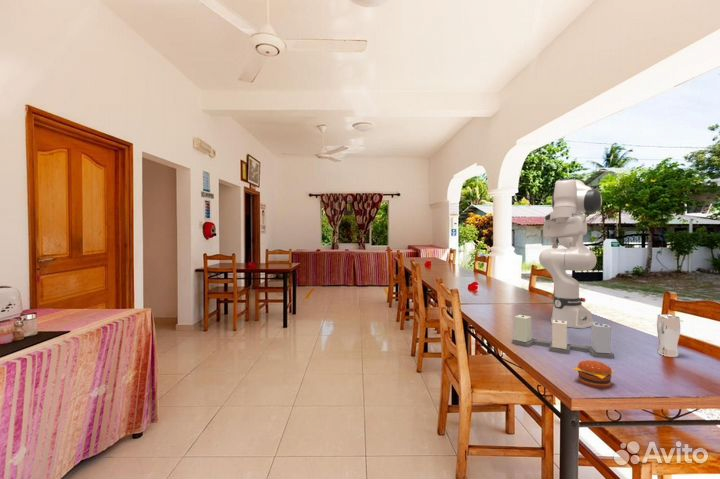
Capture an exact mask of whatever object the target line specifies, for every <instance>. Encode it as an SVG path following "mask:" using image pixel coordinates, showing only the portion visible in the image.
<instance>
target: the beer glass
mask: <svg viewBox="0 0 720 479" xmlns="http://www.w3.org/2000/svg"><path fill="white" fill-rule="evenodd" d="M656 331H657V336H658V343H659V344H658V345H659V346H658V349H657V350H658V351H657V353H658V355H660V354H661V355H660V356H663V355H664V356H663V357H670V358H678V357H679V351H678V343H679V341H680V340H679V339H680V335H681V318H680V316H677V315H672V314H665V313H664V314H662V313H661V314H657V319H656Z"/></svg>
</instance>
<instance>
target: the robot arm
mask: <svg viewBox="0 0 720 479" xmlns="http://www.w3.org/2000/svg"><path fill="white" fill-rule="evenodd" d="M551 198H552V199H551V203H550V204H551V207H552V211H551V212H550V213H548V214H547V215H545V216H543V221H544V224H543V227H542V228H543V229H542V236H543V238H544V239H545V240H546V239H548V240H549V242H550V244H551V248H547V249H543V250H542V251H541V252H540V254H539V256H538V262H539V264H540V266H542V268H544V269H546V270H547V272H548V273H549V274H550V277H551V278H552V281H553V286H554V287H553V288H554V295H553V298H552V300H553V301H552V302H553V307H552V314H551V317H550V324H552V322H553V320H560V321H567V328H573V329H574V328H576V329H586V328H590V327H591V328H592V323H598V321H595V320H593V314H592V312H591V311H590V310H589V309H587V308H586V307H585V306H584V305H583V303H586V298H585V297H580V283H579V281H578V280H577V279H575V278H574V277H571V276H570V275H568V273H567V271H578V272H581V271H583V272H584V271H591V270H593V269H594V268H595V267H596V264H597V262H598V261H597V256H596V254H595V253H594V251H592V250H591V249H589V248H588V247H587V246H585V244H584V239H583V238H584V236H586V235H587V233H588V222H587V217H590V215H592V214H594V213H596V212H598V211H599V210H600V209H601V207H602V205H603V196H602V194H601V192H600V191H599V190H597V188H596V189H595V188H594V187H591V186H588V185H586V184H585V182H583V181H581V180H579V179H574V178H562V179H558V180H556V181H555V185H554V190H553V195H552V197H551ZM586 215H587V216H586ZM557 239H558V242H559V244H560V245H561V246H563V248H559V244H558V243H557V242H556V241H557ZM582 302H583V303H582Z"/></svg>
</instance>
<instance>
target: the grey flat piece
mask: <svg viewBox="0 0 720 479" xmlns="http://www.w3.org/2000/svg"><path fill="white" fill-rule="evenodd" d="M511 344H514V345H519V346H522V347H526V348H529V347H531V346H534V345H535V346H541V347H547V348H548V347H549V348H548V350H549V352H553V353H560V354H565V355H566V354H567V355H570V352H571V351H574V352H575V351H576V352H577V351H578V352H583V353H588V354H590V356H592V357H593V358H604V359H605V358H606V359H615V354H614V353H613V352H612V351H611V353H598V352H595V351H594V350H593V349H592V345H580V344H579V345H578V344H571V343H567V349H562V348H555V347H552V340H551V341H550V340H542V339H537V338H535V337H531V340H530V341H528V342H523V341H518V340H514V338H513V339H511Z"/></svg>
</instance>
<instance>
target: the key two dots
mask: <svg viewBox="0 0 720 479" xmlns="http://www.w3.org/2000/svg"><path fill="white" fill-rule="evenodd" d="M551 339H552V340H551V342H552V347H555V348H562V349H567V344H568V327H567V321H560V320H553V322H552V323H551Z"/></svg>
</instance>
